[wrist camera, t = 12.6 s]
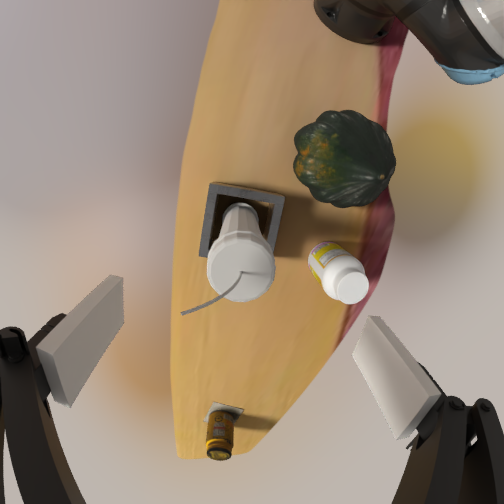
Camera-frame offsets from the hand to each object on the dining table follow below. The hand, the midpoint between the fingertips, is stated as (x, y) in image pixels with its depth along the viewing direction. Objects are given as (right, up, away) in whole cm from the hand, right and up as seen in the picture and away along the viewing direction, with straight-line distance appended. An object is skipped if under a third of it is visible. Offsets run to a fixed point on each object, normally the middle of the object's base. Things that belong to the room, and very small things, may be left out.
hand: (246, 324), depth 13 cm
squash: (+13, +19, +28) cm, 36 cm away
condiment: (-7, -35, +43) cm, 56 cm away
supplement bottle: (+13, +2, +33) cm, 36 cm away
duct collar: (-1, +9, +30) cm, 32 cm away
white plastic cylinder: (-2, +9, +30) cm, 32 cm away
